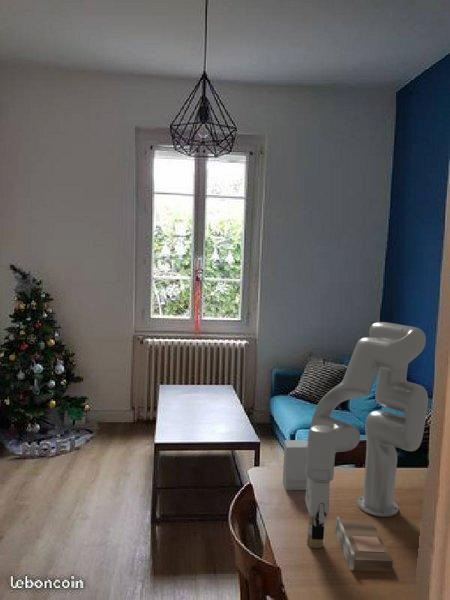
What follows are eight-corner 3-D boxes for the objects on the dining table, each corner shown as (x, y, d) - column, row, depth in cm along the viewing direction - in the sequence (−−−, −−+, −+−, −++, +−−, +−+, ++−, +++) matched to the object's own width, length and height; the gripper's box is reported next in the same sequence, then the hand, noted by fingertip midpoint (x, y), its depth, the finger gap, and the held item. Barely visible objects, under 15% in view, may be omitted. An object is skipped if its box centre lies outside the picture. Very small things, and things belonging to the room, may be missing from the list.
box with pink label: (335, 531, 151) (336, 516, 151) (372, 532, 151) (373, 518, 151) (350, 570, 133) (351, 553, 133) (391, 571, 134) (393, 555, 133)
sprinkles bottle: (305, 539, 146) (307, 494, 145) (320, 539, 147) (323, 494, 145) (309, 549, 142) (312, 502, 140) (325, 548, 142) (328, 502, 141)
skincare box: (305, 482, 182) (307, 439, 180) (308, 491, 175) (311, 447, 173) (281, 481, 181) (284, 439, 179) (284, 490, 175) (286, 446, 173)
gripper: (301, 457, 150) (298, 516, 152) (311, 485, 133) (307, 551, 136) (327, 458, 150) (323, 517, 152) (340, 486, 134) (335, 552, 136)
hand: (315, 532), depth 144 cm, fingers closed on sprinkles bottle, 4 cm apart
